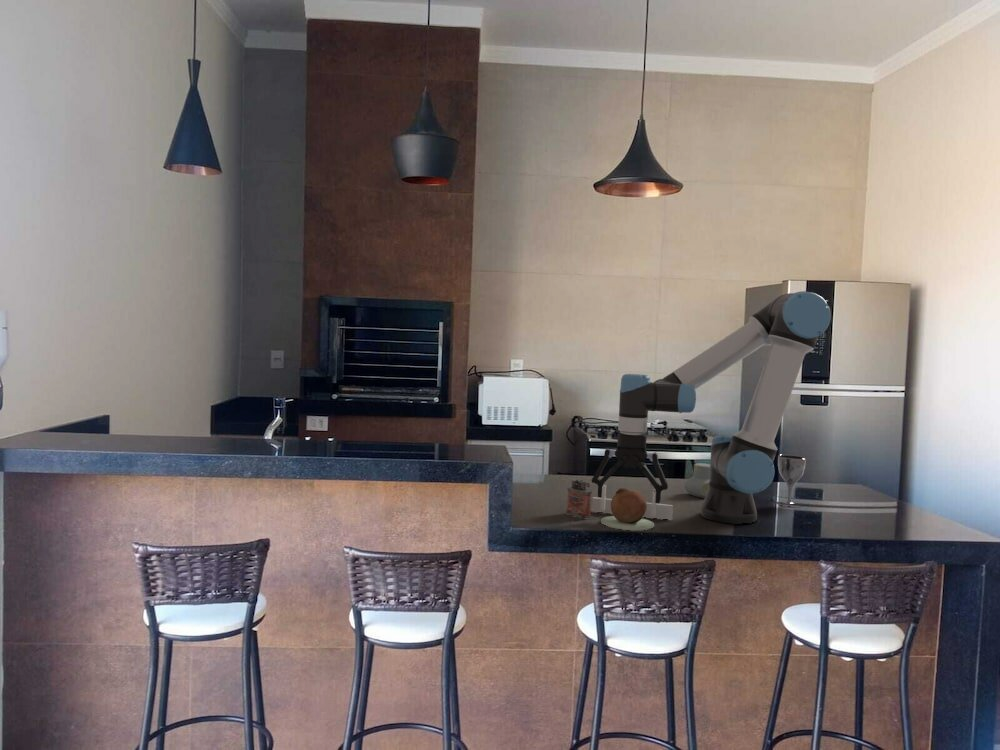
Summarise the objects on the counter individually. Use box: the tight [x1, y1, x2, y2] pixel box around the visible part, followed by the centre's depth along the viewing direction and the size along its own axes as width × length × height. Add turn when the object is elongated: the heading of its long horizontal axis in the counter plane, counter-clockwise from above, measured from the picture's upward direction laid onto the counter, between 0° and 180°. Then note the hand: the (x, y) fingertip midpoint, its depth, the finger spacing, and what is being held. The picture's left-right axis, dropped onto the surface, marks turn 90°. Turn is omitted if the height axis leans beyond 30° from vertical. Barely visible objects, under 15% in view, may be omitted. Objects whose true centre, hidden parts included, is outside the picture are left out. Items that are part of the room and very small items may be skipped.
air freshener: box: [684, 462, 710, 499], centre depth 249 cm, size 11×8×10 cm
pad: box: [600, 515, 655, 532], centre depth 209 cm, size 14×14×1 cm
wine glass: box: [777, 453, 807, 504], centre depth 241 cm, size 8×8×15 cm
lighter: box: [565, 478, 592, 519], centre depth 216 cm, size 8×3×10 cm, turn 40°
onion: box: [611, 487, 648, 524], centre depth 209 cm, size 10×9×10 cm
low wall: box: [591, 496, 674, 521], centre depth 219 cm, size 22×1×4 cm, turn 74°
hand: (628, 512), depth 209 cm, fingers open, 13 cm apart
